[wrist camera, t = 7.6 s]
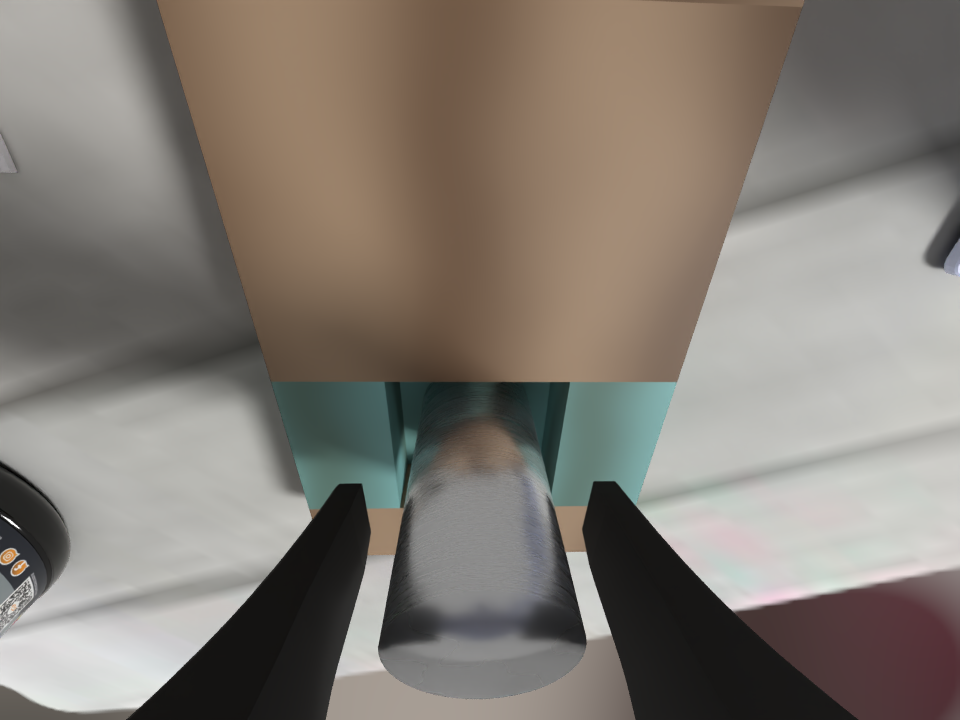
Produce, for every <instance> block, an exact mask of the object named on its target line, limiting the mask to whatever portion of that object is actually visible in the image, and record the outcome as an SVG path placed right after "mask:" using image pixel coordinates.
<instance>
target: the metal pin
mask: <svg viewBox="0 0 960 720" xmlns="http://www.w3.org/2000/svg"><path fill="white" fill-rule="evenodd" d="M586 644H587V643H586V634H585V630H584V626H583V622H582V618H581V614H580V610H579V606H578V602H577V598H576V593H575V589H574V585H573V581H572V577H571V573H570V569H569V565H568V561H567V557H566V552H565V548H564V544H563V540H562V536H561V532H560V528H559V524H558V520H557V515H556V511H555V507H554V503H553V499H552V495H551V491H550V487H549V483H548V479H547V474H546V470H545V466H544V462H543V458H542V454H541V450H540V446H539V442H538V438H537V433H536V429H535V425H534V421H533V417H532V413H531V409H530V405H529V401H528V397H527V393H526V391H525V389H524V387H523V385H522V384H521V382H431V384H430V385H429V387H428V388H427V390H426V393H425V395H424V400H423V405H422V411H421V416H420V421H419V427H418V432H417V438H416V443H415V449H414V454H413V460H412V465H411V471H410V476H409V482H408V487H407V493H406V498H405V504H404V509H403V515H402V520H401V525H400V531H399V536H398V542H397V547H396V553H395V558H394V564H393V569H392V575H391V580H390V586H389V591H388V597H387V602H386V608H385V613H384V619H383V624H382V629H381V635H380V640H379V646H378V652H379V657H380V660H381V662H382V664H383V665H384V667H385V668H386V669H387V671H388V672H389V673H390V674H391V675H393V676H394V677H395V678H396V679H398V680H399V681H401V682H403V683H404V684H406V685H408V686H411V687H413V688H415V689H418V690H421V691H424V692H427V693H431V694H434V695H440V696H445V697H452V698H463V699H490V698H500V697H507V696H513V695H518V694H522V693H526V692H530V691H533V690H536V689H539V688H542V687H544V686H547V685H549V684H551V683H553V682H555V681H557V680H558V679H560V678H562V677H563V676H565V675H566V674H567V673H569V672H570V671H571V670H572V669H573V668H574V667H575V666H576V665H577V664H578V663H579V662H580V660H581V659H582V657H583V655H584V653H585V649H586Z"/></svg>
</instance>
